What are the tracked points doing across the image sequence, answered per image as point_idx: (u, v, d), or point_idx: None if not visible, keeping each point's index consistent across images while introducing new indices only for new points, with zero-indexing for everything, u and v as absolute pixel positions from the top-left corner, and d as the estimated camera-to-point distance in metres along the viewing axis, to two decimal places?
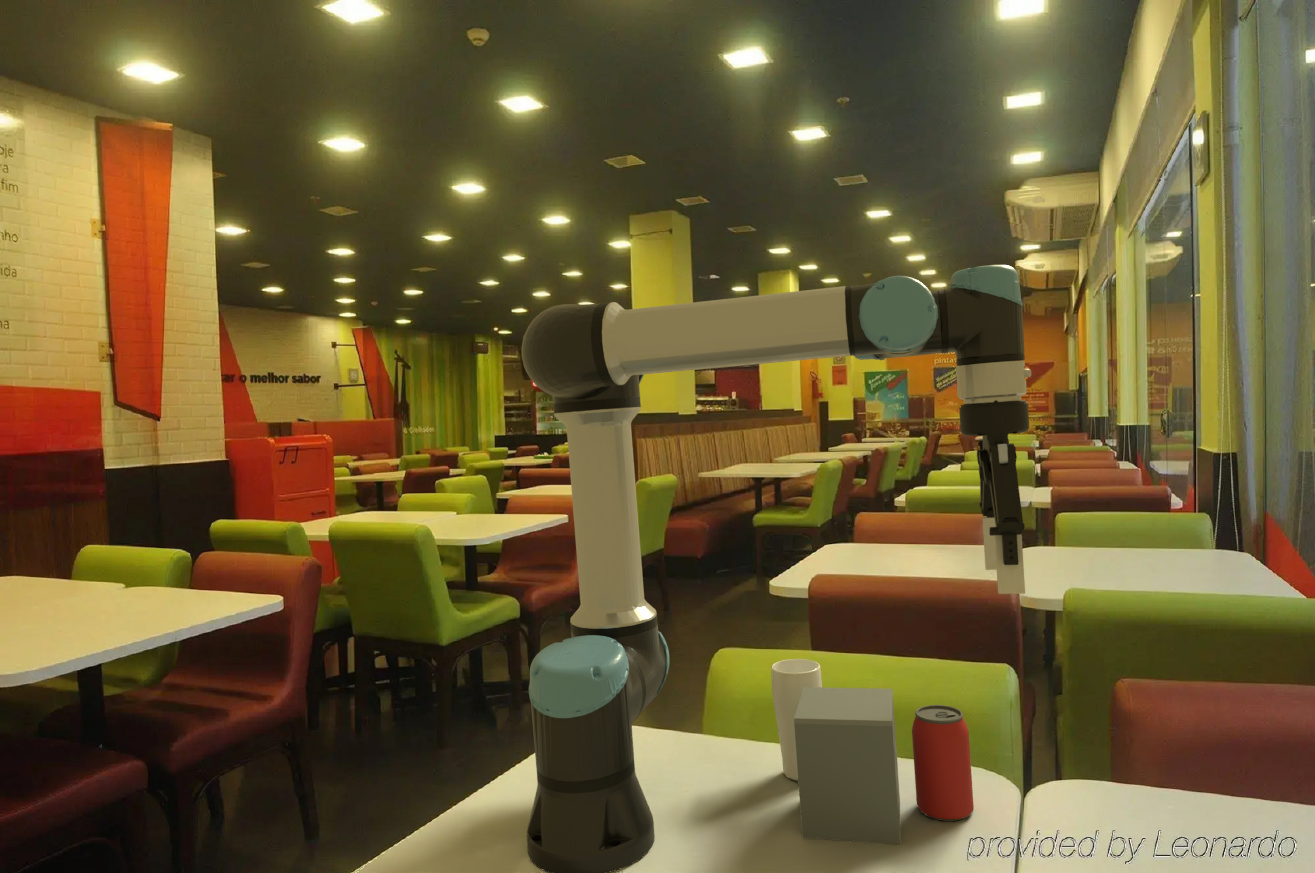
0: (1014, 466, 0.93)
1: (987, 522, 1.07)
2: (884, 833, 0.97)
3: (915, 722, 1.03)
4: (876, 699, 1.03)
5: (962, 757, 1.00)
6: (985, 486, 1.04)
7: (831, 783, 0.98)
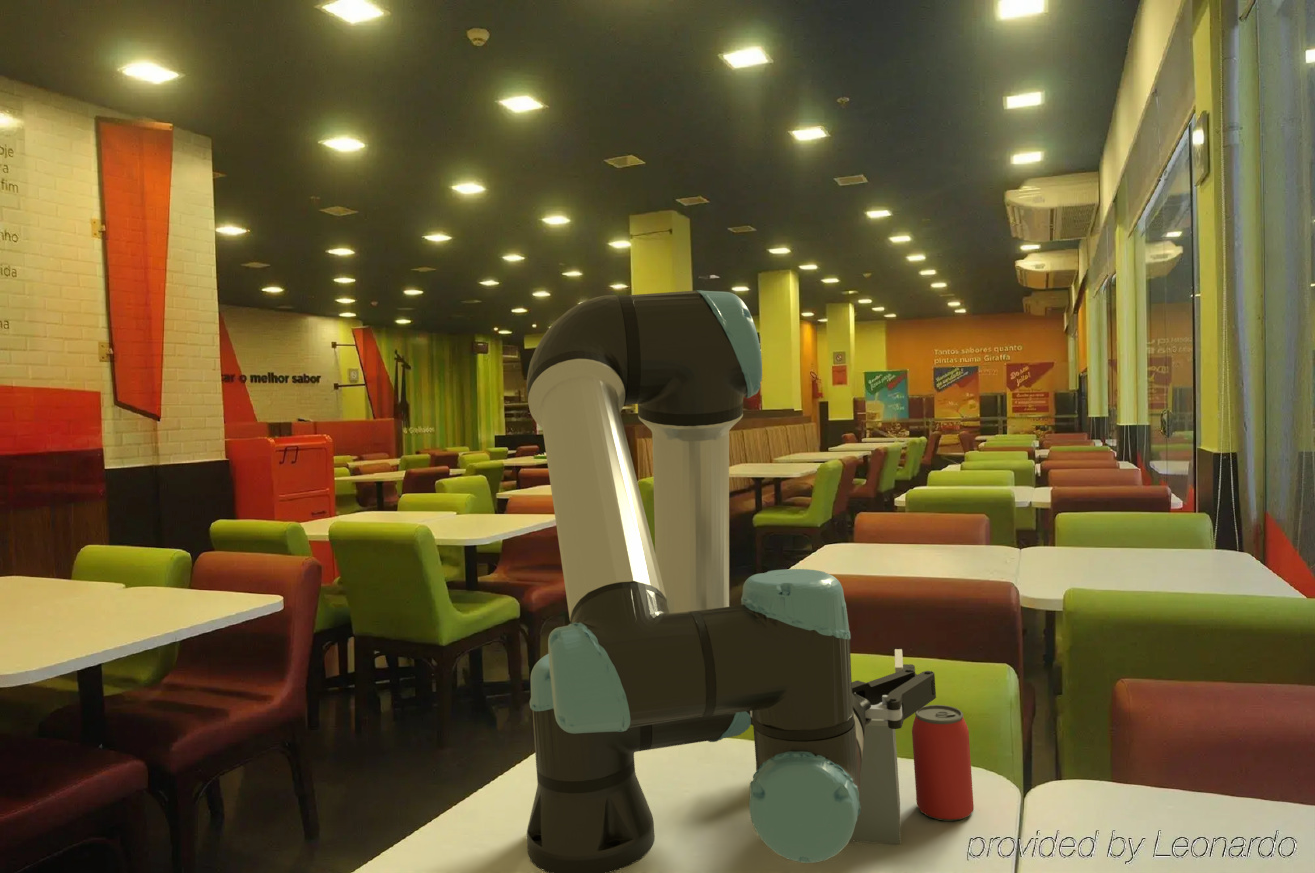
0: None
1: None
2: (884, 833, 0.97)
3: (915, 722, 1.03)
4: None
5: (962, 757, 1.00)
6: (868, 683, 0.82)
7: None
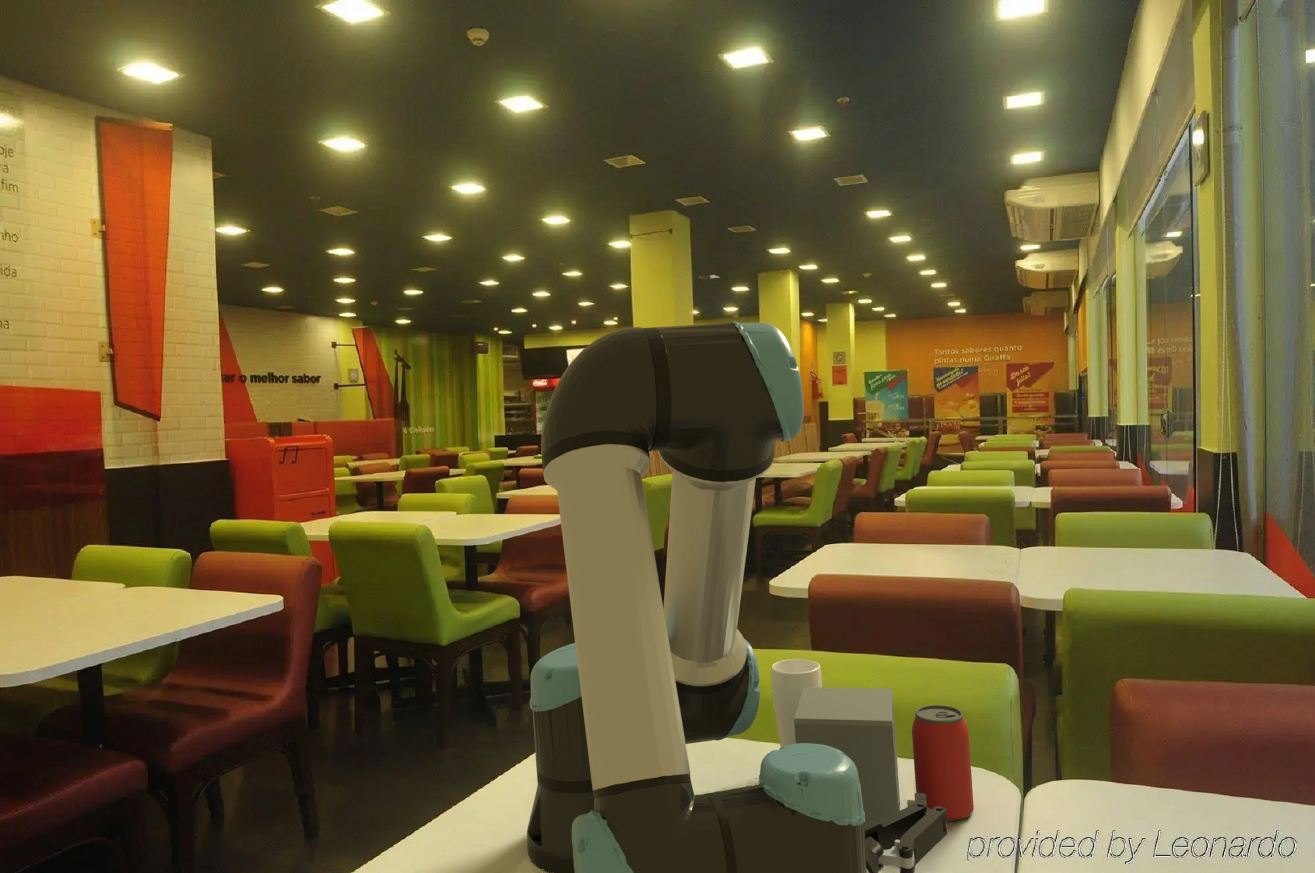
0: None
1: None
2: None
3: (915, 722, 1.03)
4: (876, 699, 1.03)
5: (962, 757, 1.00)
6: None
7: None
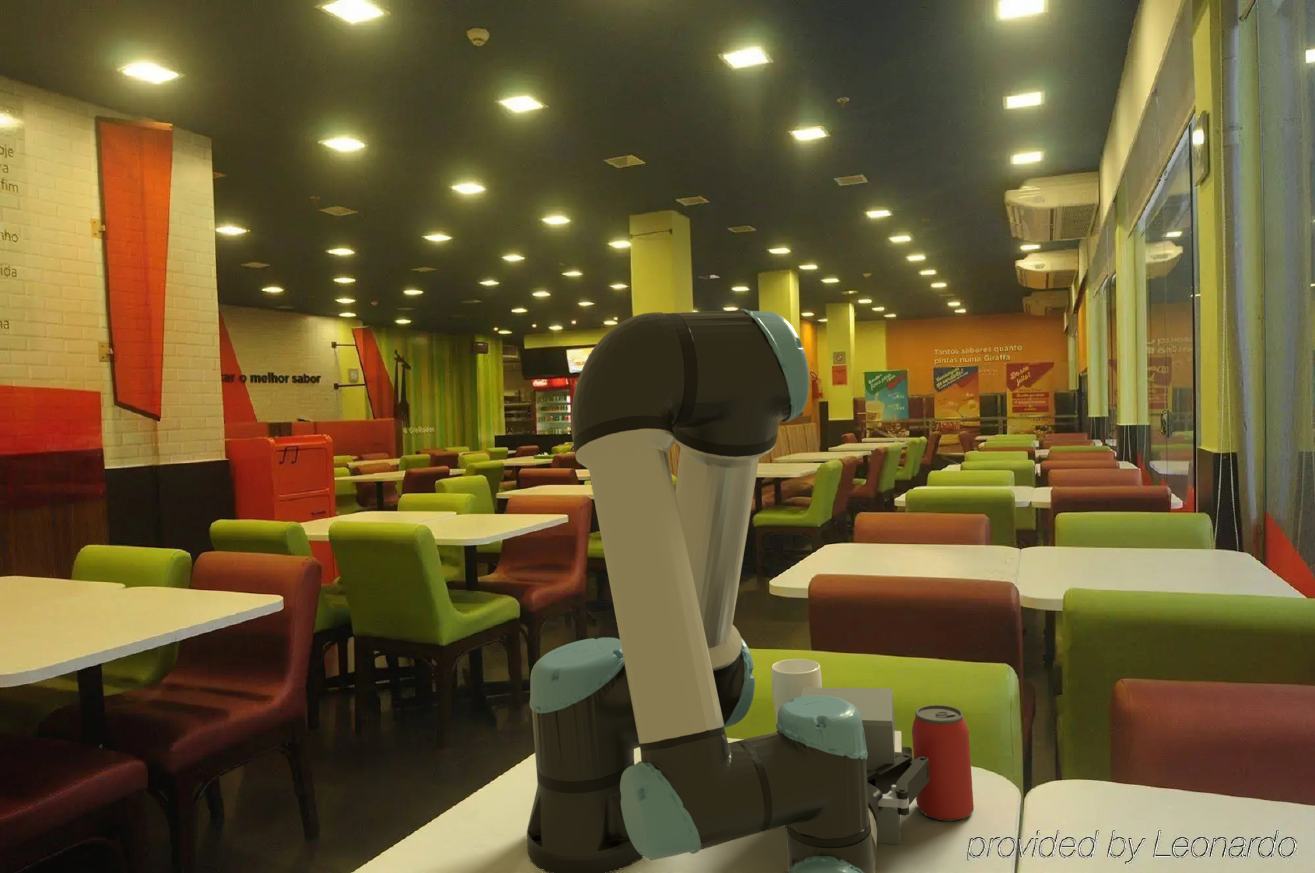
0: None
1: None
2: (884, 833, 0.97)
3: (915, 722, 1.03)
4: (876, 699, 1.03)
5: (962, 757, 1.00)
6: None
7: None
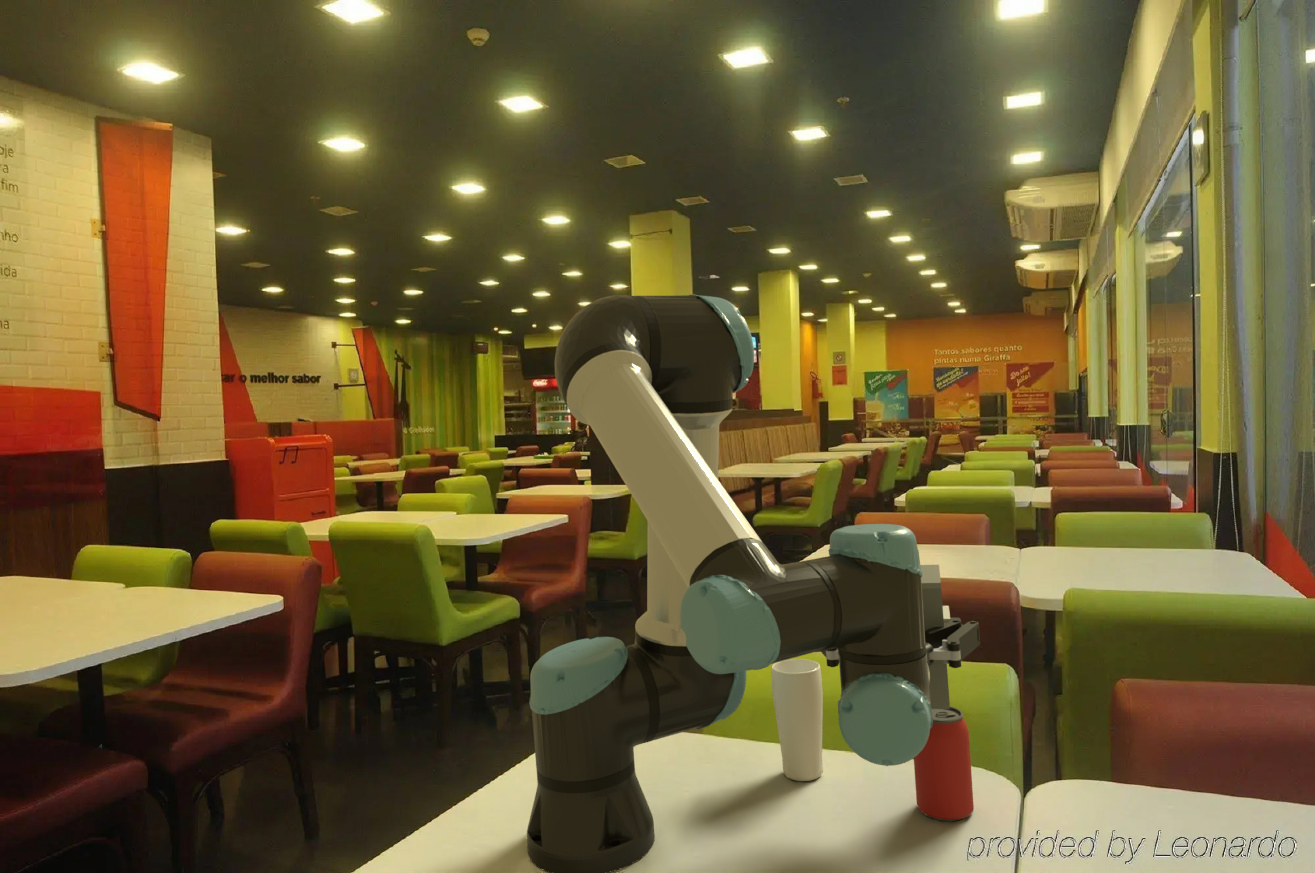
0: None
1: None
2: (933, 698, 0.95)
3: None
4: (923, 571, 1.01)
5: (962, 757, 1.00)
6: None
7: None
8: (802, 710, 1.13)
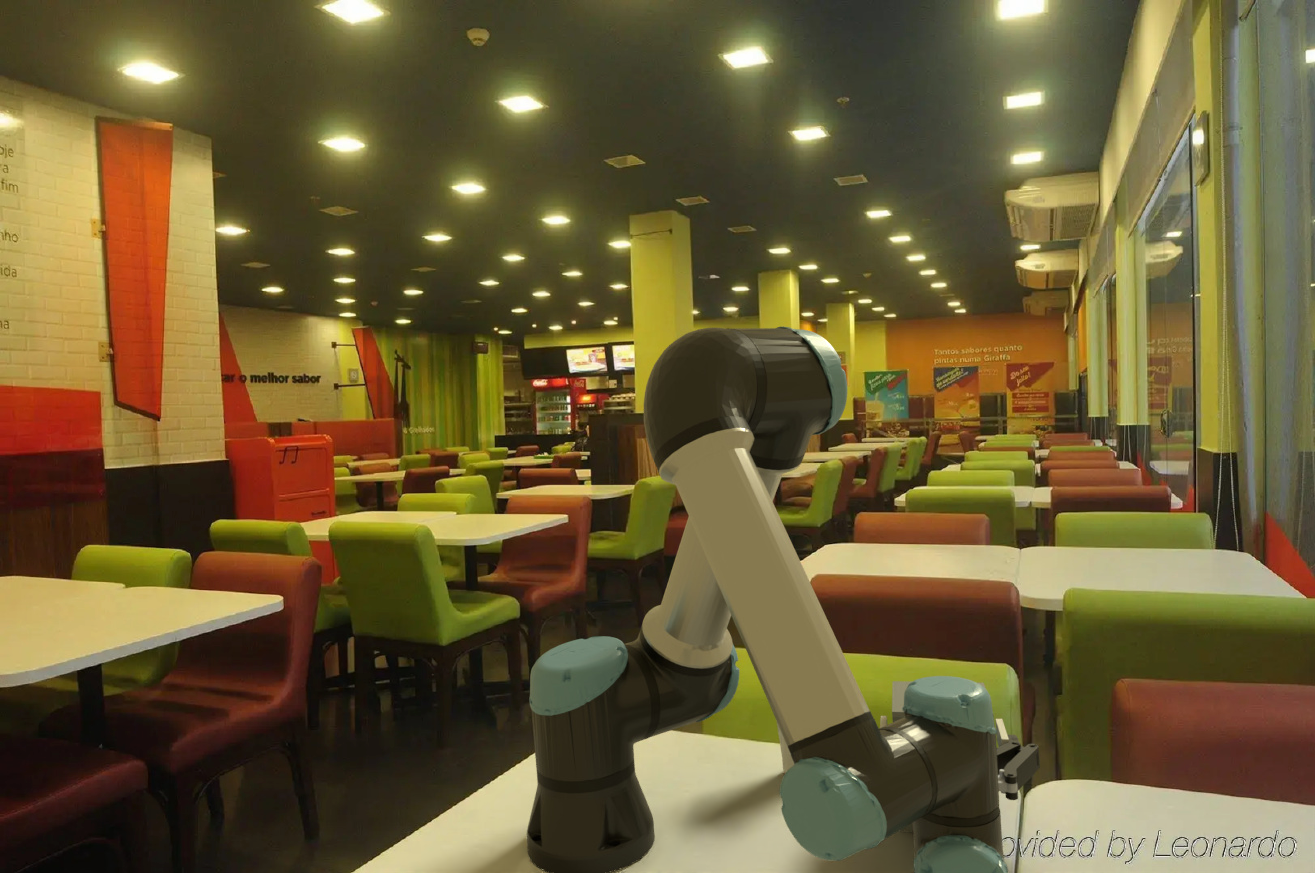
0: None
1: (1001, 741, 0.98)
2: None
3: None
4: None
5: None
6: None
7: None
8: None
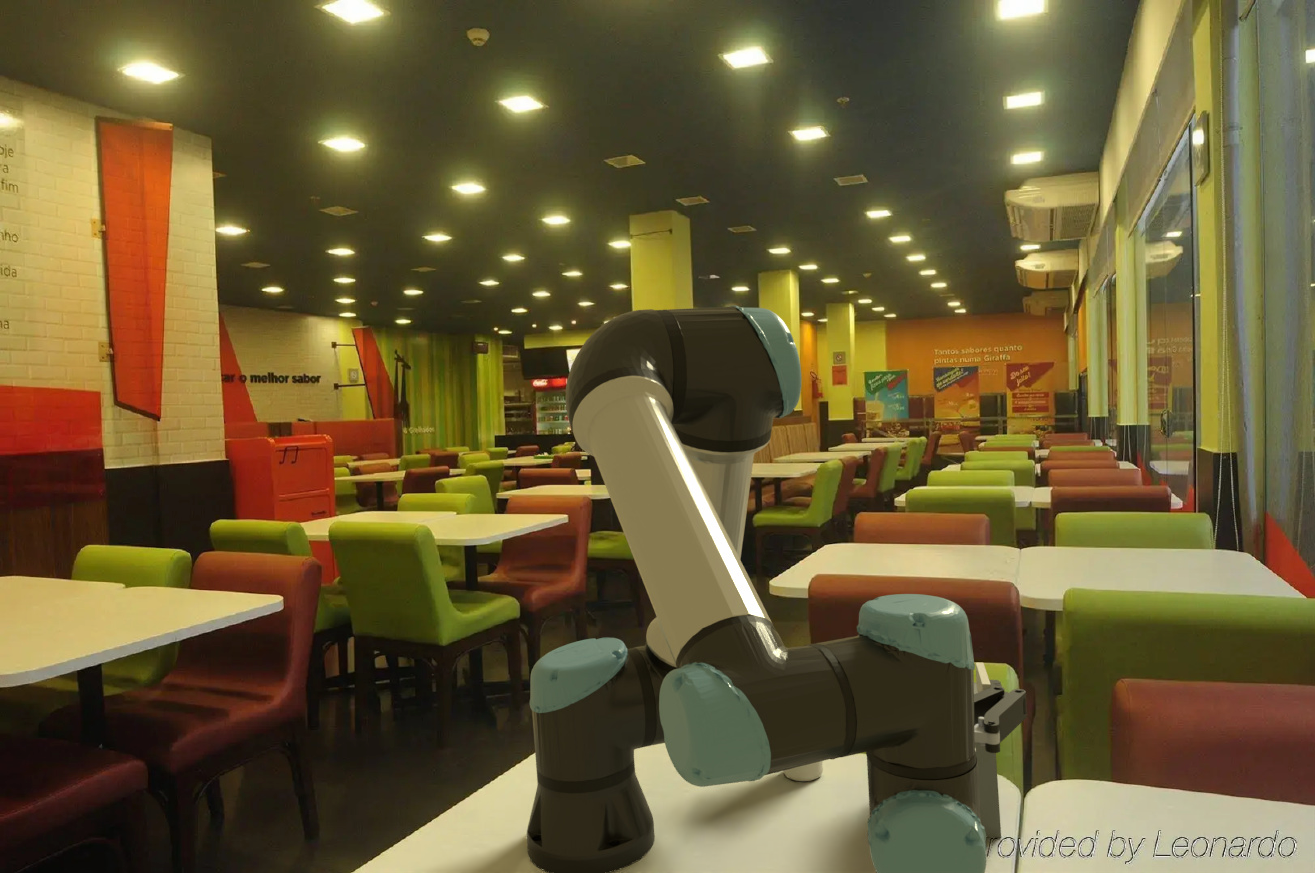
0: None
1: (982, 687, 0.83)
2: (985, 827, 0.97)
3: None
4: None
5: None
6: None
7: None
8: None
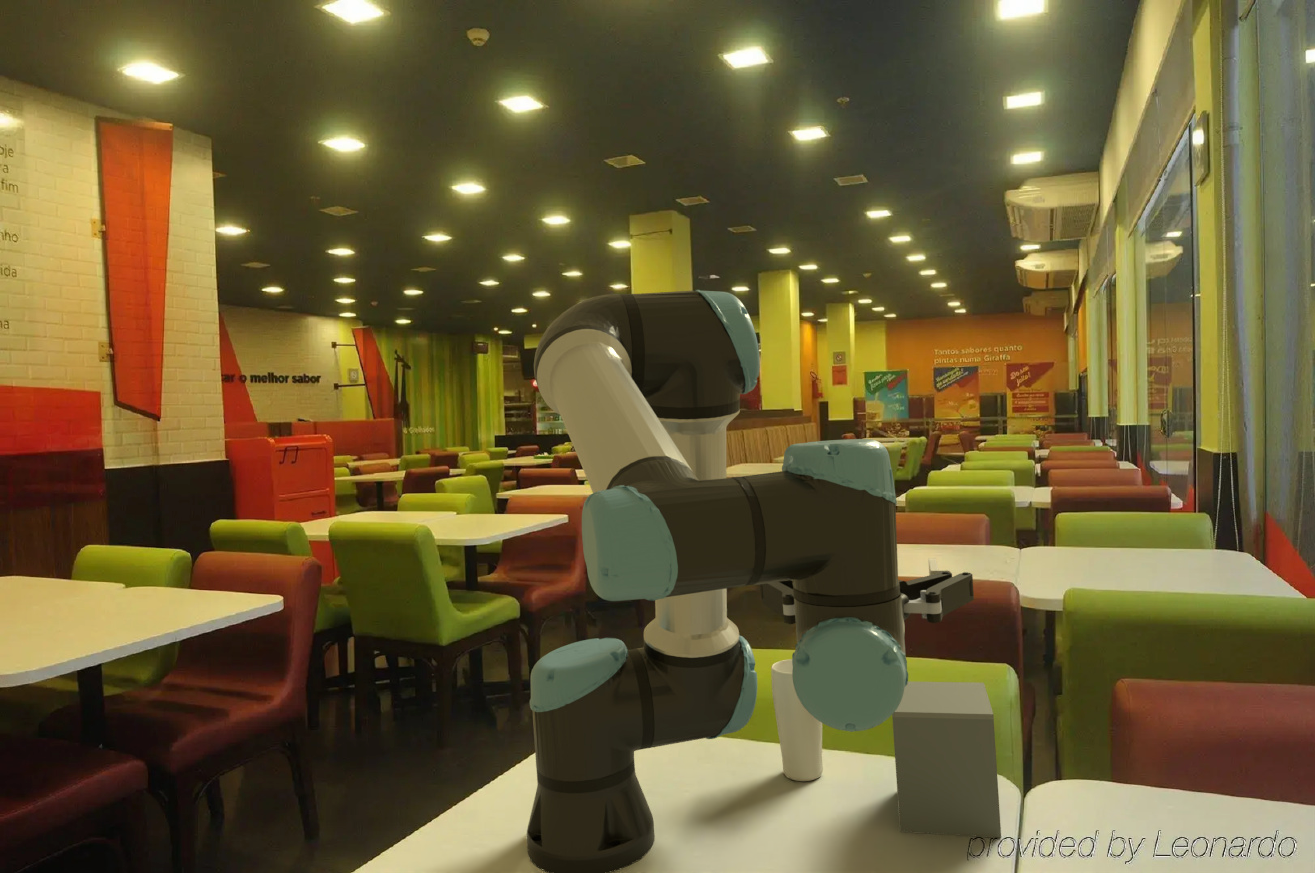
0: (783, 615, 0.79)
1: None
2: (985, 827, 0.97)
3: None
4: (970, 693, 1.03)
5: None
6: None
7: (930, 777, 0.98)
8: (802, 710, 1.13)
